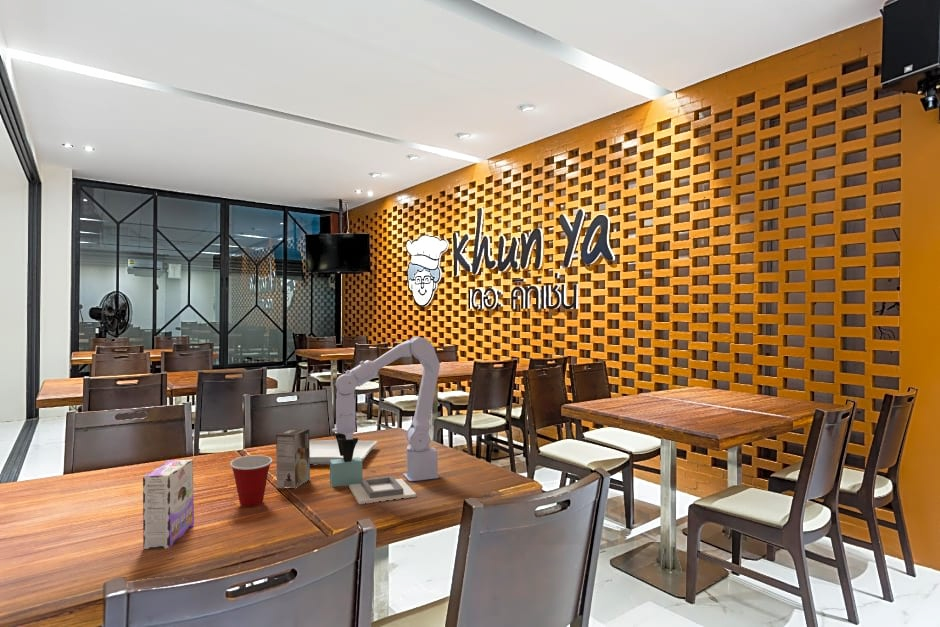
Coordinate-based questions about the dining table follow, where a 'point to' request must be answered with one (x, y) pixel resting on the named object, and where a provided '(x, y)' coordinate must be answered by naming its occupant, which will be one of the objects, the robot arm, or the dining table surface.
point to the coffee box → (292, 458)
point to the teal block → (345, 472)
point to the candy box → (167, 504)
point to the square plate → (336, 450)
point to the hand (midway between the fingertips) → (345, 458)
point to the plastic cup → (251, 478)
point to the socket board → (381, 490)
